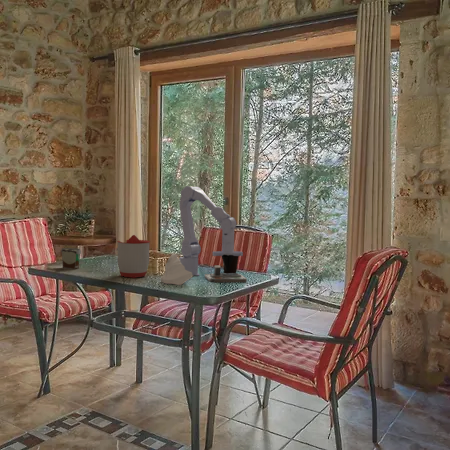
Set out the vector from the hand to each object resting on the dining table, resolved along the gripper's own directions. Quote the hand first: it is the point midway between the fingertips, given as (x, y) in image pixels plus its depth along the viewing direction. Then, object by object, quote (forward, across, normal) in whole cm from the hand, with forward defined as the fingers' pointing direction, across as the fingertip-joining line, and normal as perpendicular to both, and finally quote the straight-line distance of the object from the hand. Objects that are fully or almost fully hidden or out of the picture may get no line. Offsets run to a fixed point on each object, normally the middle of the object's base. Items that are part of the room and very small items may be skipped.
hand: (227, 270), depth 243 cm
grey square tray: (+4, -1, 0) cm, 4 cm away
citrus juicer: (+4, -45, +11) cm, 46 cm away
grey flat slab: (+4, -1, 0) cm, 4 cm away
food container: (+4, -74, +37) cm, 83 cm away
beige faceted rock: (+4, -26, -8) cm, 27 cm away
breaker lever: (+3, -5, 0) cm, 5 cm away
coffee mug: (+4, +6, +19) cm, 20 cm away
